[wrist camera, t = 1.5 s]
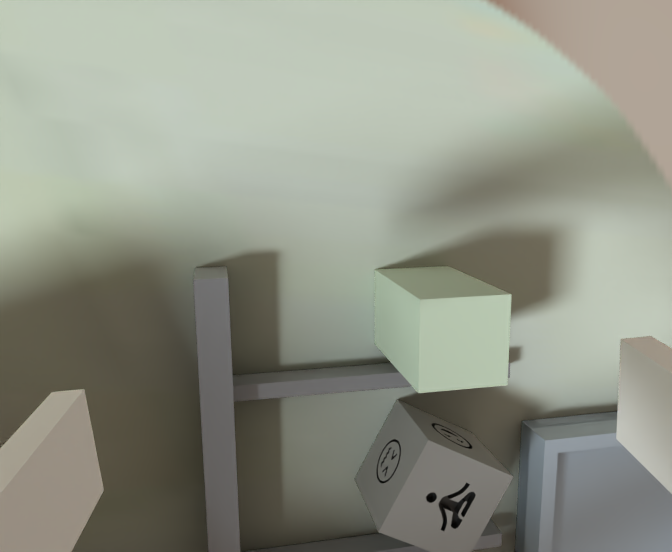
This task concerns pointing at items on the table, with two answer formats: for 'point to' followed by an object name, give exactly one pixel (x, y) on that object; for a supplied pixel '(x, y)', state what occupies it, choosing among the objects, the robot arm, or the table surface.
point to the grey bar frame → (226, 389)
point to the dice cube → (430, 481)
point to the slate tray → (587, 490)
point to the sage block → (442, 328)
